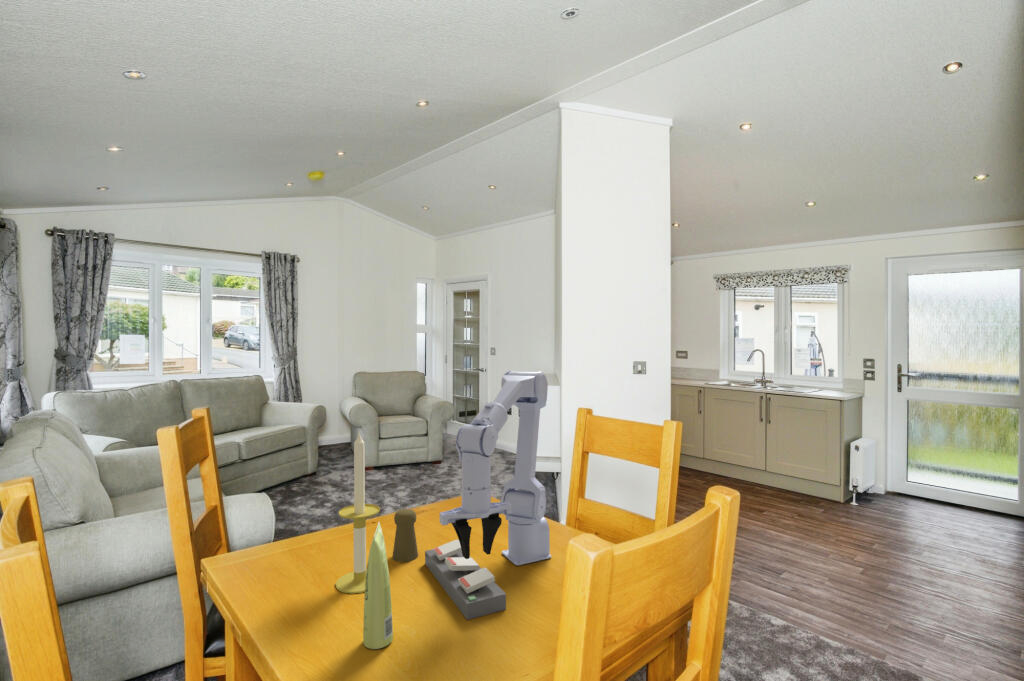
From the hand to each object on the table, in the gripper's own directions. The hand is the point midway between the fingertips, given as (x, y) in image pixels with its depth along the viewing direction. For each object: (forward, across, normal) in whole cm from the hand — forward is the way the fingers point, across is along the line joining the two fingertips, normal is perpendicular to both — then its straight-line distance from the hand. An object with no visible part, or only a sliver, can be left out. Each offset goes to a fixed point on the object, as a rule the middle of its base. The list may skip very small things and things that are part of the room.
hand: (476, 554), depth 100 cm
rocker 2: (+5, 0, +8) cm, 9 cm away
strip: (+9, 0, +8) cm, 12 cm away
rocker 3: (+5, 0, 0) cm, 5 cm away
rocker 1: (+5, 0, +16) cm, 17 cm away
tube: (+10, -20, -4) cm, 23 cm away
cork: (+10, -7, +27) cm, 29 cm away
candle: (+10, -19, +19) cm, 29 cm away
